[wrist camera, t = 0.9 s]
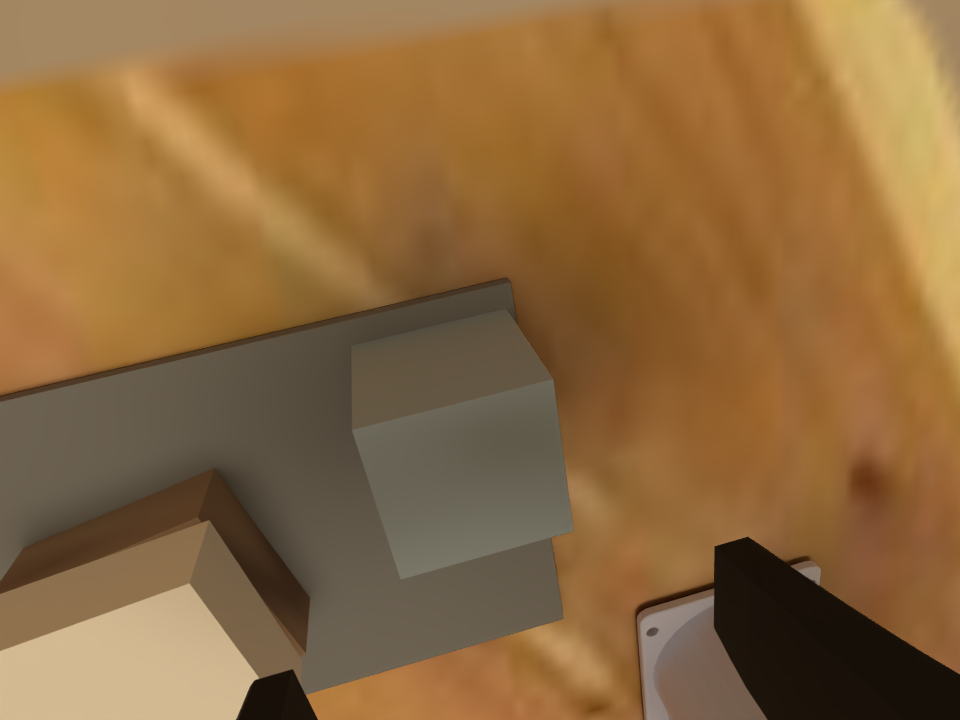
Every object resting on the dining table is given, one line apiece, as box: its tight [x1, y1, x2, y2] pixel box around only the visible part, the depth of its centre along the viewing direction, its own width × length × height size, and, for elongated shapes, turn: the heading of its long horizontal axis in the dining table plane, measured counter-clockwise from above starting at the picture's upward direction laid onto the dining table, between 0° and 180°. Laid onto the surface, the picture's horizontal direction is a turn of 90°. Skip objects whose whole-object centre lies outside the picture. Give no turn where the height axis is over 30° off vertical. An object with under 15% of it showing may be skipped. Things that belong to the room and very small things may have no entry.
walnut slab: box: [0, 468, 310, 656], centre depth 18 cm, size 6×6×2 cm
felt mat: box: [0, 278, 564, 695], centre depth 19 cm, size 14×18×1 cm
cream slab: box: [0, 520, 303, 720], centre depth 16 cm, size 6×6×2 cm
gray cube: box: [351, 309, 574, 579], centre depth 16 cm, size 4×4×4 cm
